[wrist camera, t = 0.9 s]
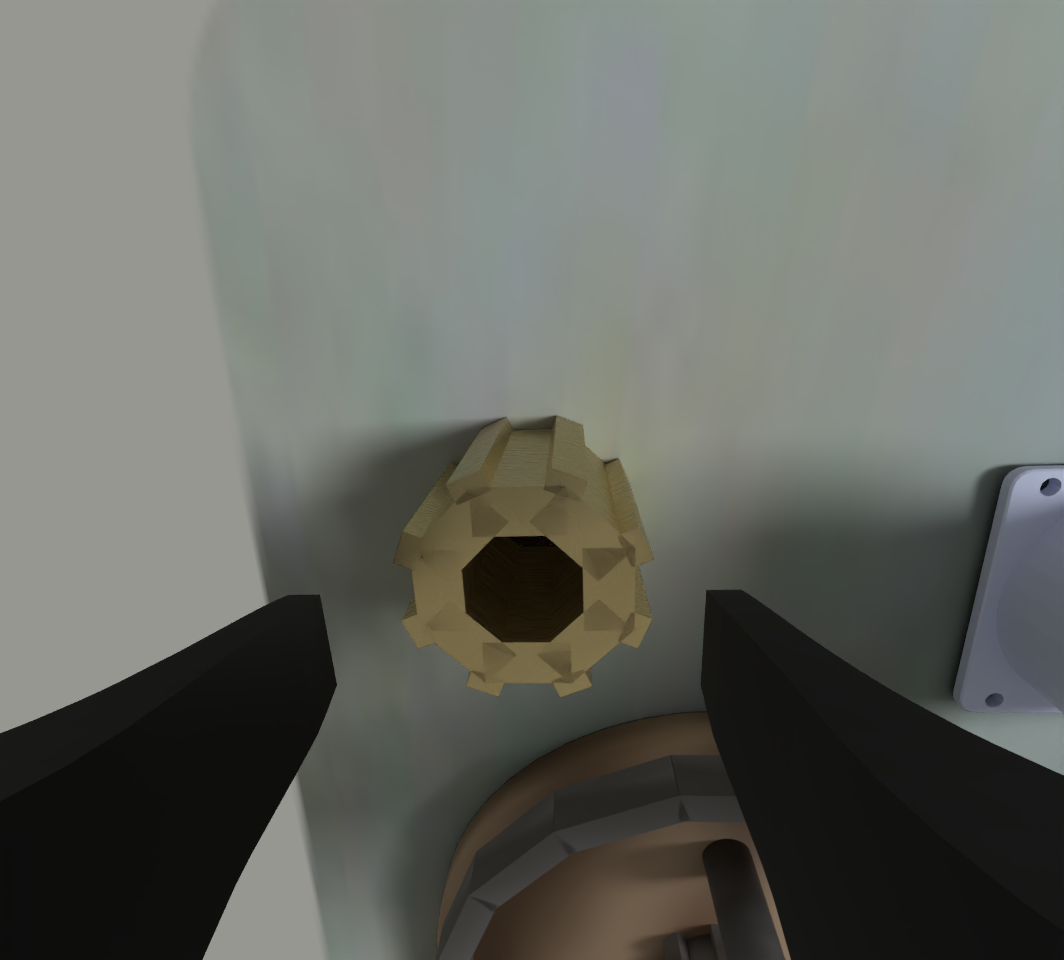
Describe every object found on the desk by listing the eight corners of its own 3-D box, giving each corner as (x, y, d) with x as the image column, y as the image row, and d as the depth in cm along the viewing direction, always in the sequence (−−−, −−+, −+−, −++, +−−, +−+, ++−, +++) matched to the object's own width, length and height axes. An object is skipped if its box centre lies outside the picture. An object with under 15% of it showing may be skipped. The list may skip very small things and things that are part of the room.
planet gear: (629, 413, 16) (656, 464, 11) (628, 588, 17) (650, 697, 13) (435, 419, 16) (380, 471, 11) (453, 589, 18) (411, 696, 13)
